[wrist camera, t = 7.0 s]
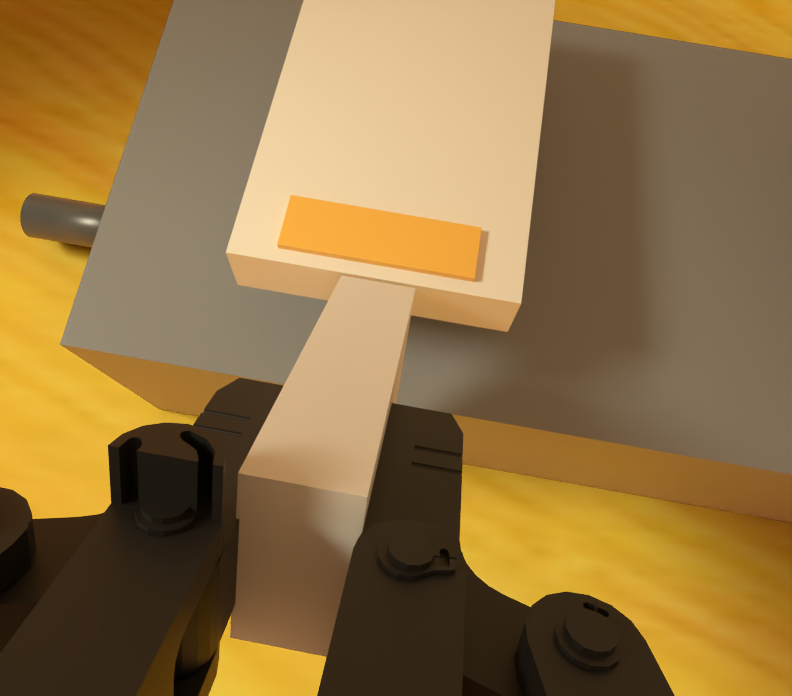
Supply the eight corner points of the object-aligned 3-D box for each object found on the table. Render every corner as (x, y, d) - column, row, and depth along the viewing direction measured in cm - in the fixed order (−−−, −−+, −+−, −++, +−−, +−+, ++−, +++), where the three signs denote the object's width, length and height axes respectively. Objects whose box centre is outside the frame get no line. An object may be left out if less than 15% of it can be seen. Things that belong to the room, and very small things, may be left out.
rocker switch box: (-5, 379, 25) (-217, 284, 16) (94, 98, 28) (-34, -109, 19) (1006, 561, 24) (1375, 567, 15) (983, 248, 27) (1273, 102, 18)
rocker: (237, 284, 15) (224, 248, 14) (323, -7, 19) (320, -60, 17) (507, 332, 15) (523, 300, 14) (543, 29, 18) (559, -22, 17)
